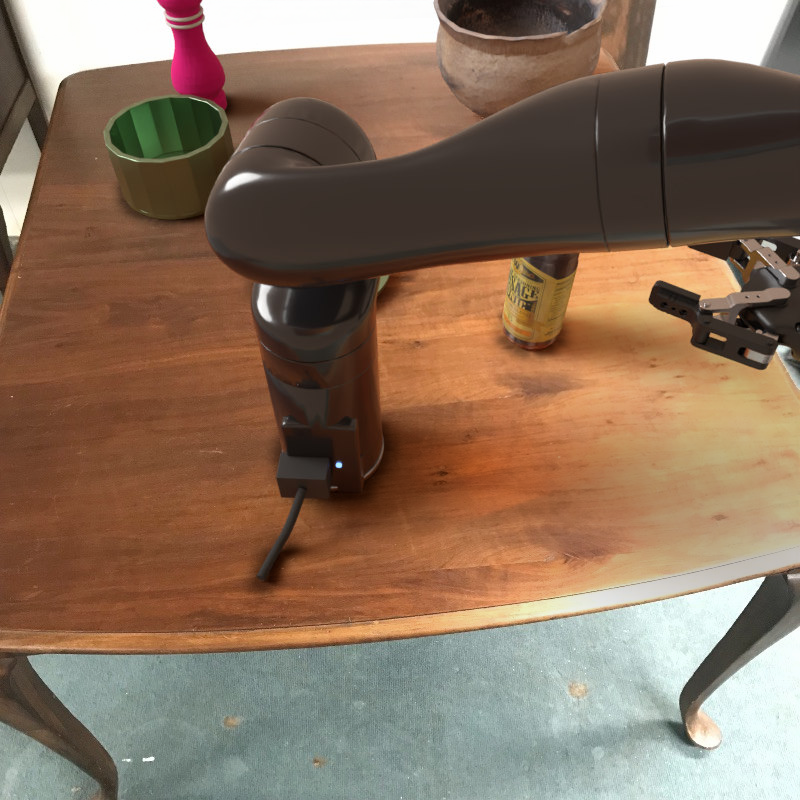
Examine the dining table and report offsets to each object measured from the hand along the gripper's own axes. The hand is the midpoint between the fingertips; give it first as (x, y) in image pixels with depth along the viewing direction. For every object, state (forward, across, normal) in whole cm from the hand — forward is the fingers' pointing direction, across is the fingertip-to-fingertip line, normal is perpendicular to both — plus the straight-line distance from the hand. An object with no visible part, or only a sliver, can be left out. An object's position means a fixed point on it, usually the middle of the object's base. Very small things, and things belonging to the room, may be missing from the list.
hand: (671, 261), depth 65 cm
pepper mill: (+70, -14, +15) cm, 73 cm away
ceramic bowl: (+34, -38, +15) cm, 53 cm away
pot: (+61, +1, +14) cm, 62 cm away
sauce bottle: (+11, 0, +15) cm, 19 cm away
